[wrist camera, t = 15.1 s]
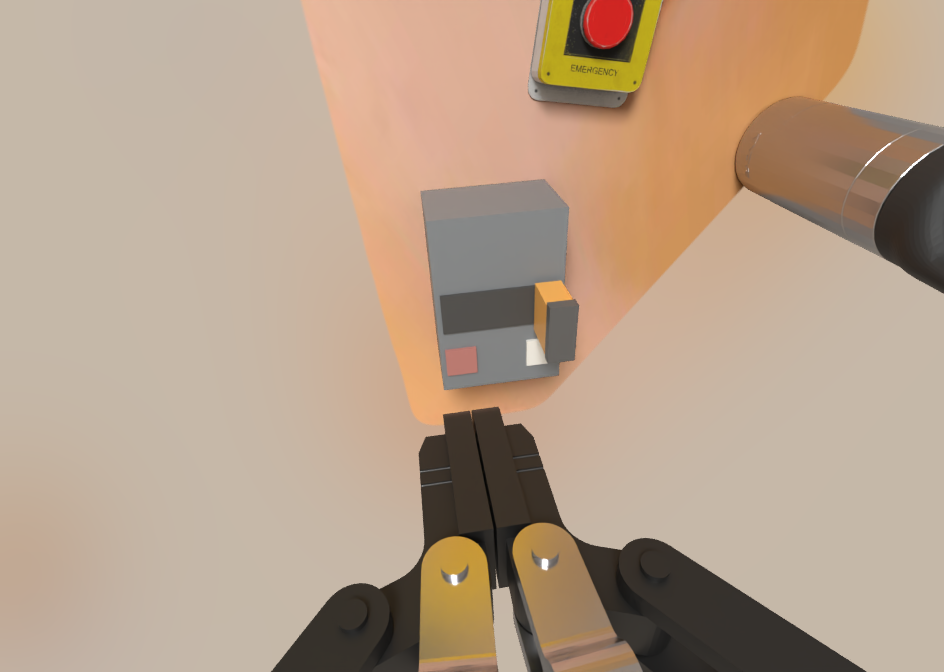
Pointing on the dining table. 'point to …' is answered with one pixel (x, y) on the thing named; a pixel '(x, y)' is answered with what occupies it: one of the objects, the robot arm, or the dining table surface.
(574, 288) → the dining table surface
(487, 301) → the breaker box
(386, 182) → the dining table surface
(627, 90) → the emergency button
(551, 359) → the breaker handle
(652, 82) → the dining table surface
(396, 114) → the dining table surface
